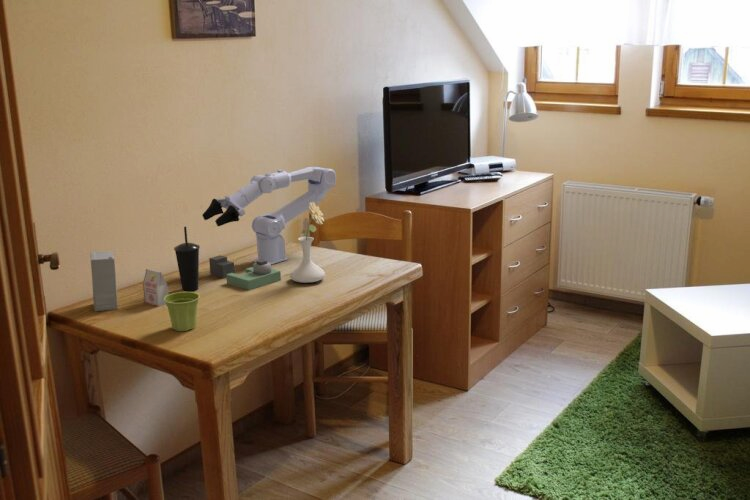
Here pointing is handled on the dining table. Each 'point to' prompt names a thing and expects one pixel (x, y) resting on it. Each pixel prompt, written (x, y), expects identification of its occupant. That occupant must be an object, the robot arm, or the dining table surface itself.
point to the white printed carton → (154, 288)
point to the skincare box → (104, 280)
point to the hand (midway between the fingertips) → (210, 220)
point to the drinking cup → (188, 264)
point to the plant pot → (182, 310)
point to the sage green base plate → (255, 276)
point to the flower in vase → (307, 268)
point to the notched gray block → (220, 266)
